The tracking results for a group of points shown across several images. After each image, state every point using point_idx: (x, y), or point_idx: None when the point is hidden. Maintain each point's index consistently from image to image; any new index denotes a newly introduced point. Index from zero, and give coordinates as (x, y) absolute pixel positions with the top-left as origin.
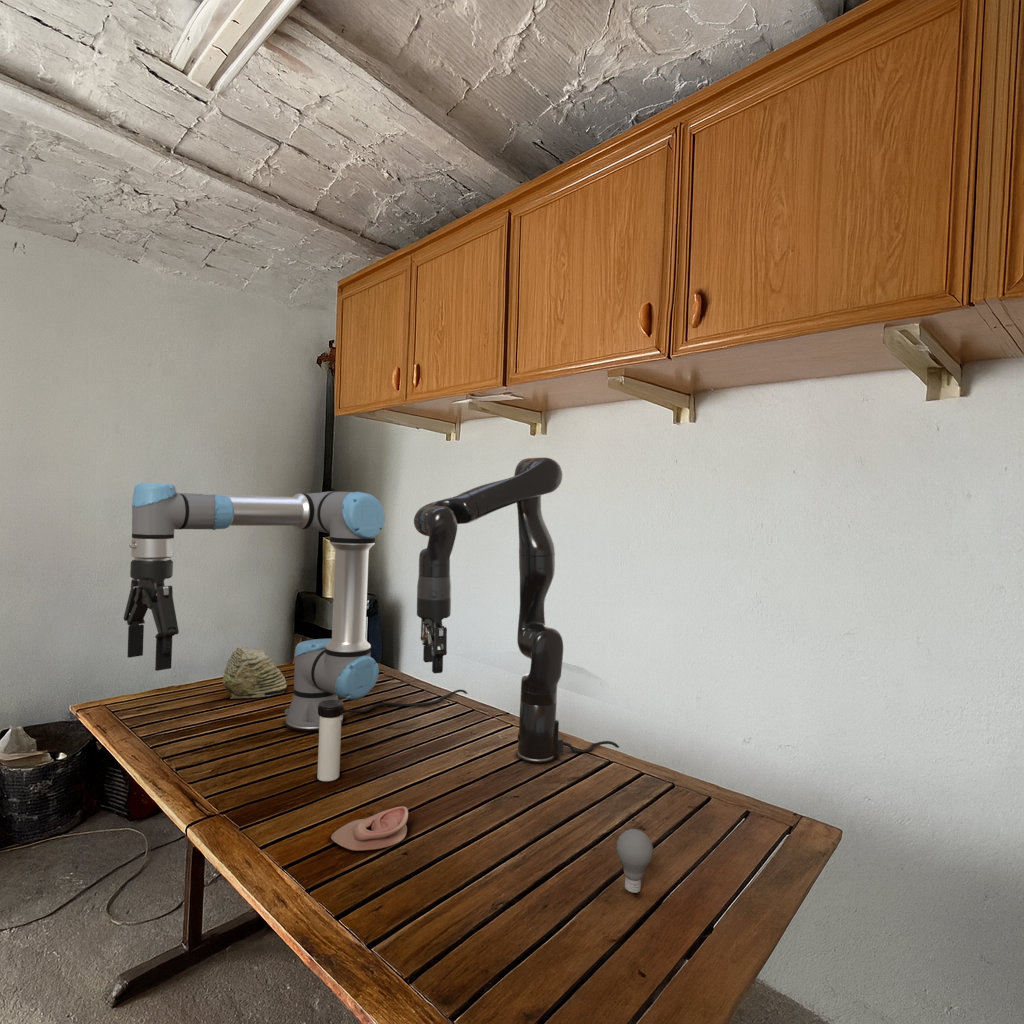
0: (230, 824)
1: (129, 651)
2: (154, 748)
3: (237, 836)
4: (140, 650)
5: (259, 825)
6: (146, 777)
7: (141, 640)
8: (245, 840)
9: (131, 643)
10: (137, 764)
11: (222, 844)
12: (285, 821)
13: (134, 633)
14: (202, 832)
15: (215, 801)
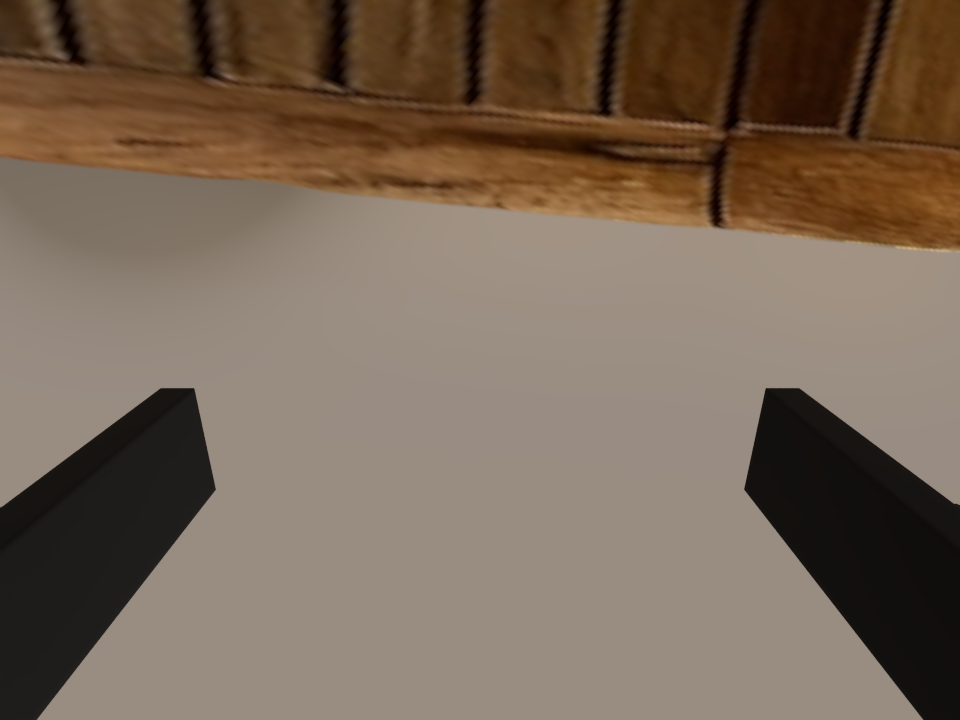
0: (806, 142)
1: (190, 521)
2: (90, 55)
3: (875, 162)
4: (171, 433)
5: (884, 84)
6: (338, 182)
7: (101, 485)
8: (910, 157)
9: (140, 560)
10: (214, 161)
11: (872, 209)
12: (937, 9)
13: (57, 631)
14: (778, 217)
15: (651, 103)
